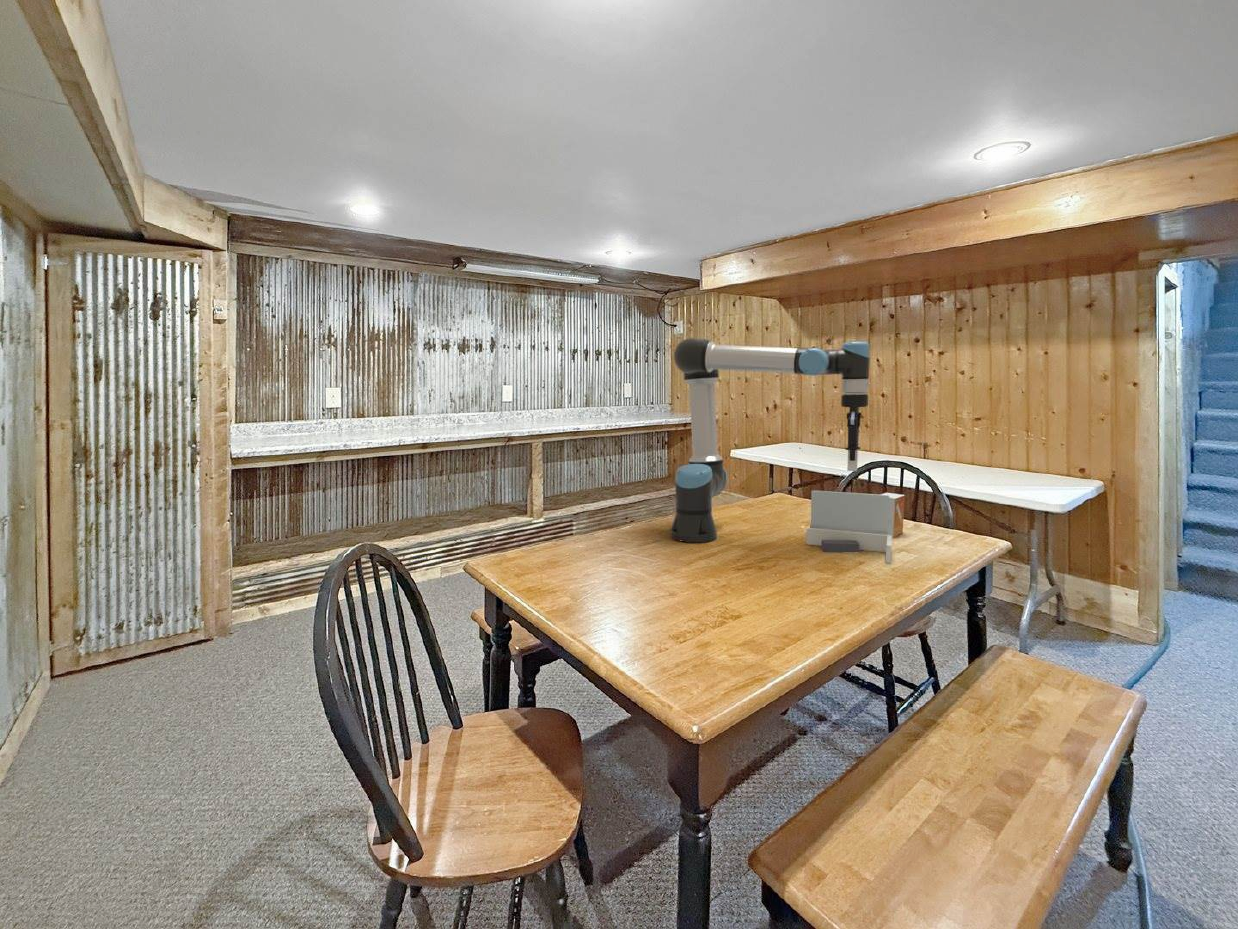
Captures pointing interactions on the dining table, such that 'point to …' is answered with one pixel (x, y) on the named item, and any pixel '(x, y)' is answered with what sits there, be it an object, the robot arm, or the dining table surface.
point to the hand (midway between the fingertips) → (852, 470)
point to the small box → (895, 514)
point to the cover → (850, 512)
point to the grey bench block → (852, 539)
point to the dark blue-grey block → (840, 546)
